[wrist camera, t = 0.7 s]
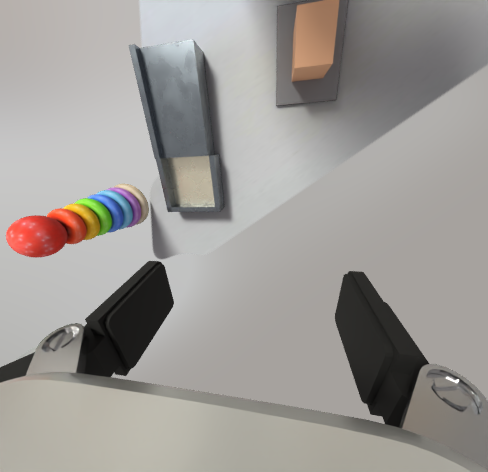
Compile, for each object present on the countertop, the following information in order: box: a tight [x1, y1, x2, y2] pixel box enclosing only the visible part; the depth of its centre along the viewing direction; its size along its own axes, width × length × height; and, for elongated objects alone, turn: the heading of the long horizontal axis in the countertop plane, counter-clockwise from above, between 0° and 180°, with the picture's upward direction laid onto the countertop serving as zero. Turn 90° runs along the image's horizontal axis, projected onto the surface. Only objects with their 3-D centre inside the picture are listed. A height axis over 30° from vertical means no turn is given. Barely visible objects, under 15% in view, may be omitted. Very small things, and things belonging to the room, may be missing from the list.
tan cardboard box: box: [292, 0, 339, 82], centre depth 22 cm, size 5×4×5 cm
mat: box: [276, 0, 348, 106], centre depth 25 cm, size 10×8×1 cm
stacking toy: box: [6, 184, 149, 257], centre depth 30 cm, size 8×8×19 cm
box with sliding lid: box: [129, 40, 224, 212], centre depth 29 cm, size 22×10×4 cm, turn 3°
